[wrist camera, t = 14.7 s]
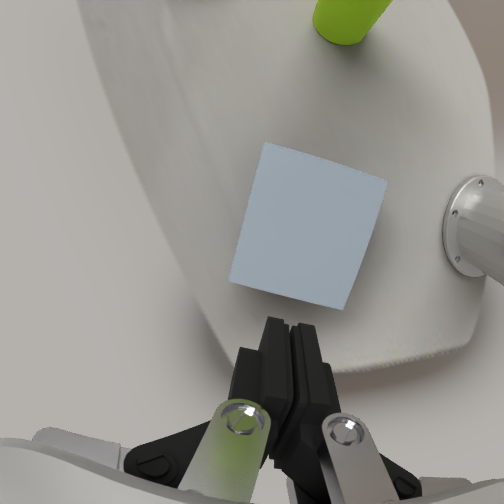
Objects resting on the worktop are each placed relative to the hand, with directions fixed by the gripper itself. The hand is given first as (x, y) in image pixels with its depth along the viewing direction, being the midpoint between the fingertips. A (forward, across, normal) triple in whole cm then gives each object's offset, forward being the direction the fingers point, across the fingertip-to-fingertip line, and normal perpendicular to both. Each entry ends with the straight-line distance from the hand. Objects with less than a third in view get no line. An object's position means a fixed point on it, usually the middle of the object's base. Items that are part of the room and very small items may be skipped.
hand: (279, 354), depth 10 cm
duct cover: (+15, -2, -2) cm, 16 cm away
